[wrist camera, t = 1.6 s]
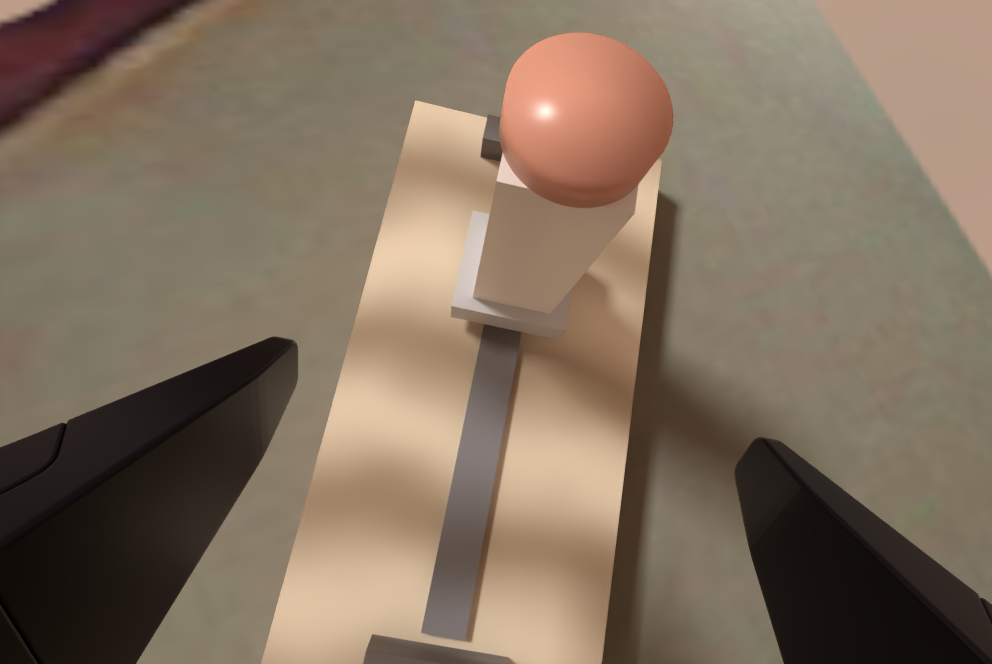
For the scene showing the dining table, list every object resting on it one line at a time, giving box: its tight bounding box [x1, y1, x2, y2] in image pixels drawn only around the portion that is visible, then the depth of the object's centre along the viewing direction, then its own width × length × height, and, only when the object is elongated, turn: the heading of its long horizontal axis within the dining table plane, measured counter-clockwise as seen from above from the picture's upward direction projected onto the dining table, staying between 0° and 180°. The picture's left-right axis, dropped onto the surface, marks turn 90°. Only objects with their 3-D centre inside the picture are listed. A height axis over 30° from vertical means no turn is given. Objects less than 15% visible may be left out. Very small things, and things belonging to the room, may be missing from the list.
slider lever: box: [451, 33, 673, 339], centre depth 15 cm, size 4×4×11 cm
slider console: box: [261, 101, 662, 664], centre depth 20 cm, size 24×12×3 cm, turn 169°
